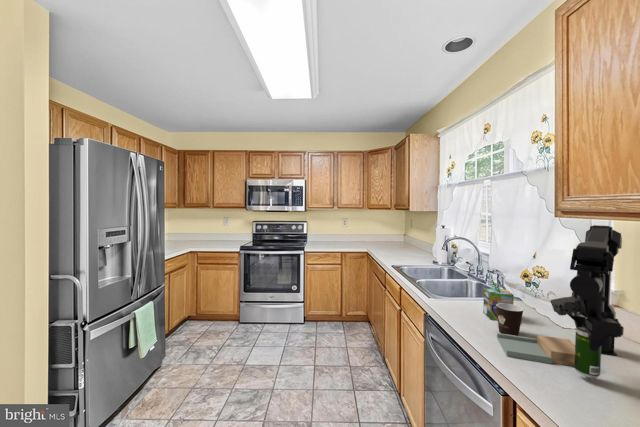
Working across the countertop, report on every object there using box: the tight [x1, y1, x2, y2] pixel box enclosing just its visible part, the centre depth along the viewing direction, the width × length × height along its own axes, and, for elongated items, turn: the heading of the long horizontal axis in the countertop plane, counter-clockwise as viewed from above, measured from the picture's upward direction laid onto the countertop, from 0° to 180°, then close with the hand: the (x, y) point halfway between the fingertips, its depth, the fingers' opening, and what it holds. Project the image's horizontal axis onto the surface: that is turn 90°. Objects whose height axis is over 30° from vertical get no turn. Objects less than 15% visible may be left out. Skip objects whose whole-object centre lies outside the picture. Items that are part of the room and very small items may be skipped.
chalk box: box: [482, 281, 515, 321], centre depth 127 cm, size 9×9×15 cm
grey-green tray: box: [496, 332, 553, 364], centre depth 98 cm, size 12×14×2 cm
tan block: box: [536, 334, 575, 367], centre depth 94 cm, size 9×12×4 cm
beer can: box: [573, 327, 602, 379], centre depth 81 cm, size 5×5×12 cm
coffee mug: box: [492, 303, 524, 336], centre depth 112 cm, size 12×9×10 cm
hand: (587, 346), depth 81 cm, fingers closed on beer can, 5 cm apart
